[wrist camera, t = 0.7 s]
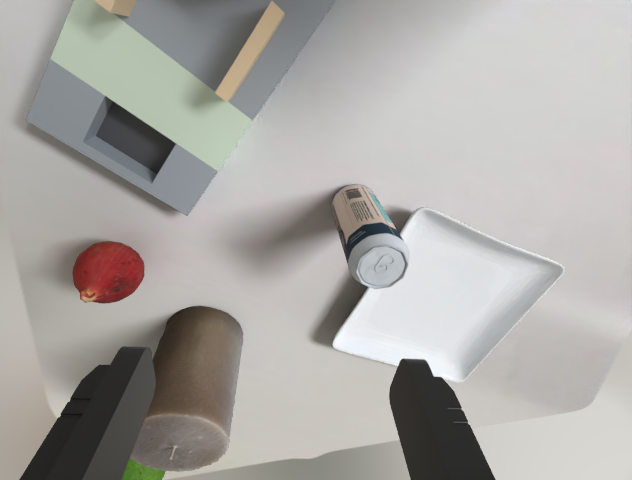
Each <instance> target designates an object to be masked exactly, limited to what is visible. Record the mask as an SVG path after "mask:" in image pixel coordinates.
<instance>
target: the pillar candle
mask: <svg viewBox="0 0 632 480" xmlns="http://www.w3.org/2000/svg"><path fill="white" fill-rule="evenodd" d="M242 344H243V332H242V329H241V326H240V325H239V323H238V322H237V321H236V320H235V319H234V318H233V317H232V316H230V315H229V314H228V313H225V312H223V311H221V310H217V309H214V308H209V307H203V306H198V307H191V308H187V309H184V310H181V311H179V312H177V313H176V314H175V315H173V316H172V317H171V318H170V319H169V320H168V322H167V326H166V329H165V331H164V334H163V336H162V338H161V339H160V342H159V345H158V347H157V350H156V353H155V356H154V358H153V365H154V371H155V377H156V386H155V392H154V396H153V400H152V402H151V405H150V407H149V410H148V413H147V415H146V418H145V420H144V423H143V425H142V428H141V430H140V433H139V436H138V438H137V441H136V443H135V446H134V448H133V451H132V453H131V456H130V458H131V459H132V460H133V461H135V462H137V463H138V464H140V465H143V466H146V467H149V468H153V469H158V470H163V471H177V472H182V471H191V470H195V469H199V468H201V467H203V466H207V465H211V464H212V463H213V462H216V461H218V460H219V459H220V458H221V457H222V456H223V455H224V454H225V452H226V450H227V448H228V446H229V442H230V441H229V436H230V429H231V421H232V416H233V406H234V403H235V393H236V386H237V379H238V373H239V364H240V357H241V349H242Z"/></svg>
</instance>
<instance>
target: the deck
mask: <svg viewBox="0 0 632 480" xmlns="http://www.w3.org/2000/svg"><path fill="white" fill-rule="evenodd" d="M334 1H335V0H74V1H73V4H72V6H71V9H70V11H69V13H68V16H67V18H66V21H65V23H64V26H63V28H62V31H61V33H60V36H59V38H58V41H57V43H56V46H55V48H54V51H53V53H52V56H51V58H50V61H49V63H48V66H47V68H46V71H45V73H44V76H43V78H42V81H41V83H40V86H39V88H38V90H37V93H36V95H35V98H34V100H33V103H32V105H31V108H30V110H29V113H28V115H27V118H26V121H27V122H29V123H31V124H33V125H34V126H36V127H38V128H39V129H41V130H43V131H44V132H46V133H48V134H49V135H51V136H53V137H54V138H56V139H58V140H60V141H61V142H63V143H65V144H66V145H68V146H70V147H71V148H73V149H75V150H76V151H78V152H80V153H81V154H83V155H85V156H87V157H88V158H90V159H92V160H93V161H95V162H97V163H98V164H100V165H102V166H103V167H105V168H107V169H109V170H110V171H112V172H114V173H115V174H117V175H119V176H120V177H122V178H124V179H125V180H127V181H129V182H130V183H132V184H134V185H136V186H137V187H139V188H141V189H142V190H144V191H146V192H147V193H149V194H151V195H152V196H154V197H156V198H157V199H159V200H161V201H163V202H164V203H166V204H168V205H169V206H171V207H173V208H174V209H176V210H178V211H179V212H181V213H183V214H185V215H186V216H188V215H189V213H190V212H191V210H192V209H193V207H194V206H195V204H196V203H197V201H198V200H199V198H200V197H201V196H202V194H203V193H204V191H205V190H206V188H207V187H208V185H209V184H210V182H211V181H212V179H213V178H214V177H215V175H216V174H217V172H218V171H219V169H220V168H221V166H222V165H223V163H224V162H225V160H226V159H227V158H228V156H229V155H230V153H231V152H232V150H233V149H234V147H235V146H236V144H237V143H238V141H239V140H240V139H241V137H242V136H243V134H244V133H245V131H246V130H247V128H248V127H249V125H250V124H251V122H252V121H253V120H254V118H255V117H256V115H257V114H258V112H259V111H260V109H261V108H262V106H263V105H264V103H265V102H266V101H267V99H268V98H269V96H270V95H271V93H272V92H273V90H274V89H275V87H276V86H277V84H278V83H279V82H280V80H281V79H282V77H283V76H284V74H285V73H286V71H287V70H288V68H289V67H290V65H291V64H292V63H293V61H294V60H295V58H296V57H297V55H298V54H299V52H300V51H301V49H302V48H303V47H304V45H305V44H306V42H307V41H308V39H309V38H310V36H311V35H312V33H313V32H314V30H315V29H316V28H317V26H318V25H319V23H320V22H321V20H322V19H323V17H324V16H325V14H326V13H327V11H328V10H329V9H330V7H331V6H332V4H333V3H334Z"/></svg>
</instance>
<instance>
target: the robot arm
mask: <svg viewBox="0 0 632 480" xmlns="http://www.w3.org/2000/svg"><path fill="white" fill-rule="evenodd" d="M155 386H156V377H155V371H154V365H153V359H152V353H151V349H150V348H147V347H122V348H120V350H119V351H118V352H117V354H116V356H115V358H114V359H113V361H112V363H111V365H98V366H97V367H96V368H95V369H94V370H93V371H92V372H90V373H89V374H88V375H87V376H86V377H85V378H84V379H82V381H81V382H80V384H79V385H78V387H77V389H76V390H75V392H74V393H73V395H72V397H71V400H70V402H68V403H67V405H66V406H65V408H64V409H63V411H62V413H61V416H60V417H58V419H57V421H56V422H55V424H54V425H53V427H52V429H51V430H50V432H49V434H48V435H47V437H46V438H45V440H44V441H43V443H42V445H41V446H40V448H39V449H38V451H37V453H36V454H35V456H34V458H33V459H32V461H31V462H30V464H29V465H28V467H27V469H26V470H25V472H24V474H23V475H22V477H21V478H20V480H121V479H122V476H123V474H124V471H125V469H126V466H127V464H128V461H129V459H130V456H131V453H132V451H133V448H134V446H135V443H136V441H137V438H138V436H139V433H140V430H141V428H142V425H143V423H144V420H145V418H146V415H147V413H148V410H149V407H150V405H151V402H152V400H153V396H154V392H155ZM389 397H390V405H391V409H392V413H393V416H394V420H395V424H396V427H397V431H398V435H399V438H400V442H401V446H402V449H403V453H404V456H405V460H406V464H407V467H408V471H409V474H410V478H411V480H495V478H494V476H493V474H492V472H491V469H490V467H489V465H488V463H487V461H486V459H485V457H484V455H483V452H482V450H481V448H480V446H479V444H478V442H477V440H476V437H475V435H474V433H473V431H472V429H471V427H470V425H468V420H467V418H466V416H465V414H464V412H463V411H462V410H461V405H460V403H459V401H458V399H457V397H456V395H455V393H454V391H453V390H452V389H451V387H450V386H449V385H448V384H447V383H446V382H445V381H444V379H443V378H442V377H434V376H433V373H432V371H431V369H430V366H429V364H428V362H427V361H426V360H424V359H404V358H403V359H401V360H400V363H399V365H398V368H397V370H396V373H395V376H394V378H393V381H392V384H391V386H390V394H389Z"/></svg>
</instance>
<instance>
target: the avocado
mask: <svg viewBox="0 0 632 480" xmlns="http://www.w3.org/2000/svg"><path fill="white" fill-rule="evenodd" d="M164 474H165V471H163V470H158V469H153V468H149V467H146V466H143V465H140V464H138V463H137V462H135V461H133V460H132V459H131V458H130V459H129V461H128V464H127V466H126V469H125V471H124V474H123V476H122V479H121V480H162V478H163V477H164Z"/></svg>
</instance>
